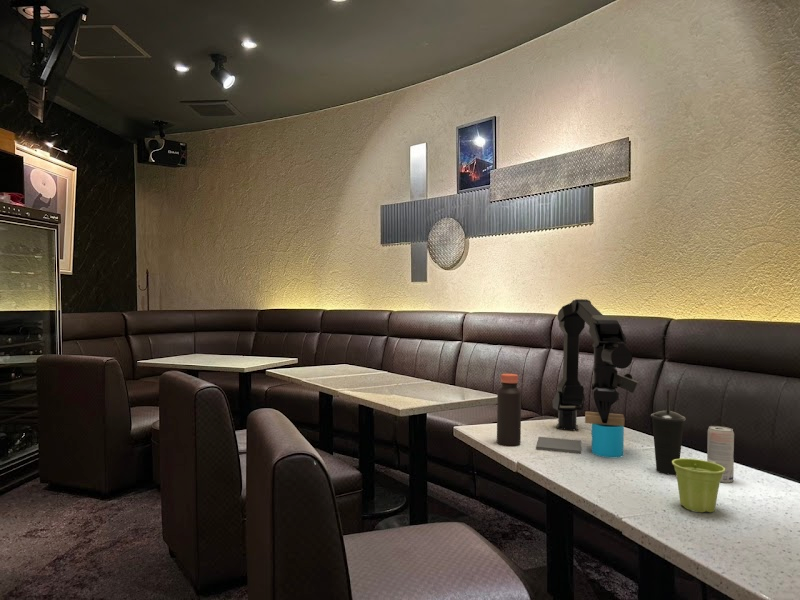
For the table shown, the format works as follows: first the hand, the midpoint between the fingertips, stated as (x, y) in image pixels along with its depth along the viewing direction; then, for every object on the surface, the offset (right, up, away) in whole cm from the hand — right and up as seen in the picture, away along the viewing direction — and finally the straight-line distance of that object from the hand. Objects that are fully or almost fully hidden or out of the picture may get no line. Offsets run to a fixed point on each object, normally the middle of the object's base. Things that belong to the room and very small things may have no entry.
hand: (604, 420), depth 150 cm
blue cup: (0, -9, 0) cm, 9 cm away
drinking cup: (+9, -9, -18) cm, 22 cm away
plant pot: (+3, -9, -41) cm, 42 cm away
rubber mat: (-11, -8, +5) cm, 15 cm away
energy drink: (+19, -9, -23) cm, 31 cm away
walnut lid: (0, -1, 0) cm, 1 cm away
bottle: (-25, -9, +7) cm, 27 cm away
